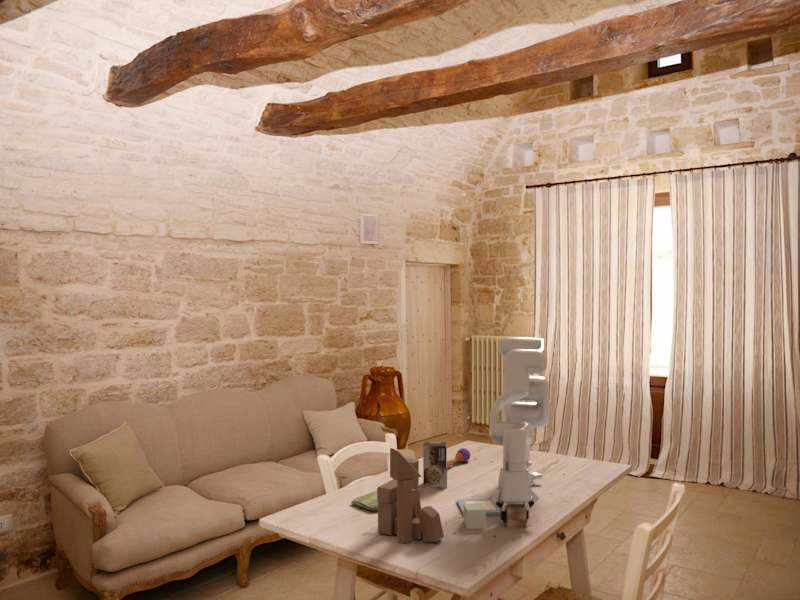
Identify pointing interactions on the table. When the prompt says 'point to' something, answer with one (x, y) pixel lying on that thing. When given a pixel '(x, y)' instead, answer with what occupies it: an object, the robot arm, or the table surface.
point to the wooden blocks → (406, 504)
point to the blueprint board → (487, 503)
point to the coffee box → (435, 464)
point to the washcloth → (367, 501)
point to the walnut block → (516, 515)
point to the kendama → (460, 457)
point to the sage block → (474, 516)
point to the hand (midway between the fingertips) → (514, 521)
